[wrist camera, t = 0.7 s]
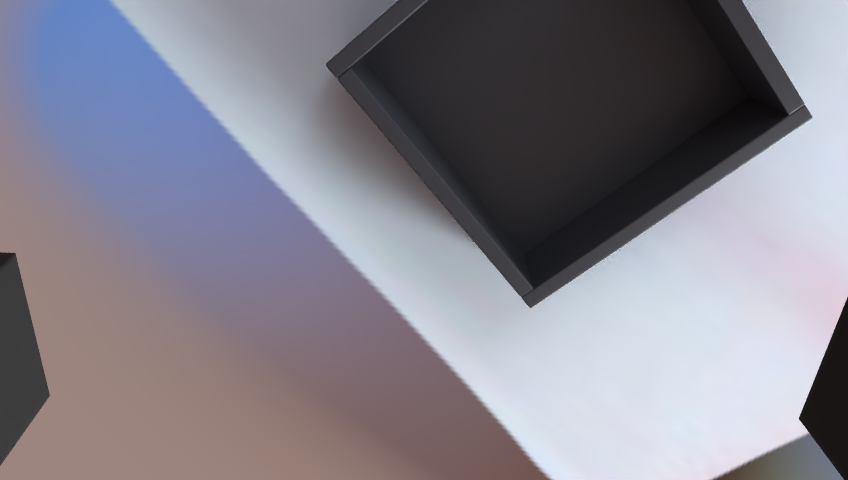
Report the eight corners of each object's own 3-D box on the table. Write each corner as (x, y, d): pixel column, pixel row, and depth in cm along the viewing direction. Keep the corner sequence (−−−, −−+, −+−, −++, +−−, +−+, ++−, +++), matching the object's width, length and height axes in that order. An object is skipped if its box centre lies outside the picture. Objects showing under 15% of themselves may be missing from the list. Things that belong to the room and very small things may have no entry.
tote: (341, 50, 35) (324, 64, 30) (594, -171, 31) (622, -196, 26) (519, 265, 39) (530, 309, 35) (762, 96, 35) (813, 118, 31)
